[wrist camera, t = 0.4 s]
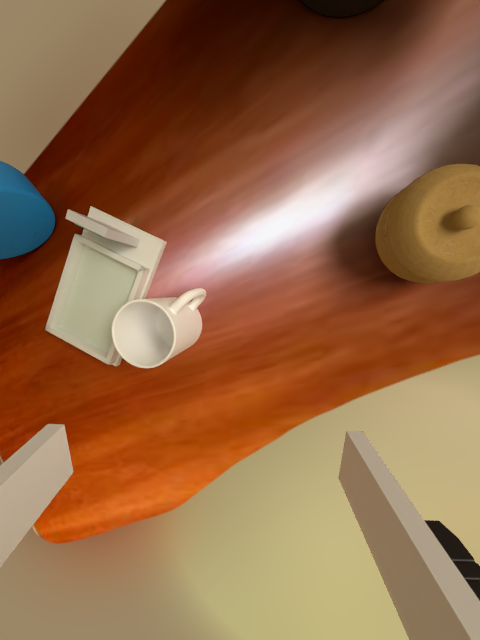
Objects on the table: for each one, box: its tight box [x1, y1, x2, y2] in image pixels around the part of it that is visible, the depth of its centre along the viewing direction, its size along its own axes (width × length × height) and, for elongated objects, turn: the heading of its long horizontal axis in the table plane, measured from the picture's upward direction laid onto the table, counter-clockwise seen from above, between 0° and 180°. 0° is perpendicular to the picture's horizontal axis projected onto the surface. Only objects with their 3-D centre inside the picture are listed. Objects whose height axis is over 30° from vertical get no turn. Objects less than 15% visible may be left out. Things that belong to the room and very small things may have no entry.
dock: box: [45, 207, 167, 366], centre depth 36 cm, size 22×13×8 cm, turn 155°
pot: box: [375, 163, 480, 283], centre depth 27 cm, size 12×12×10 cm
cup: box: [112, 288, 206, 368], centre depth 33 cm, size 8×12×10 cm
